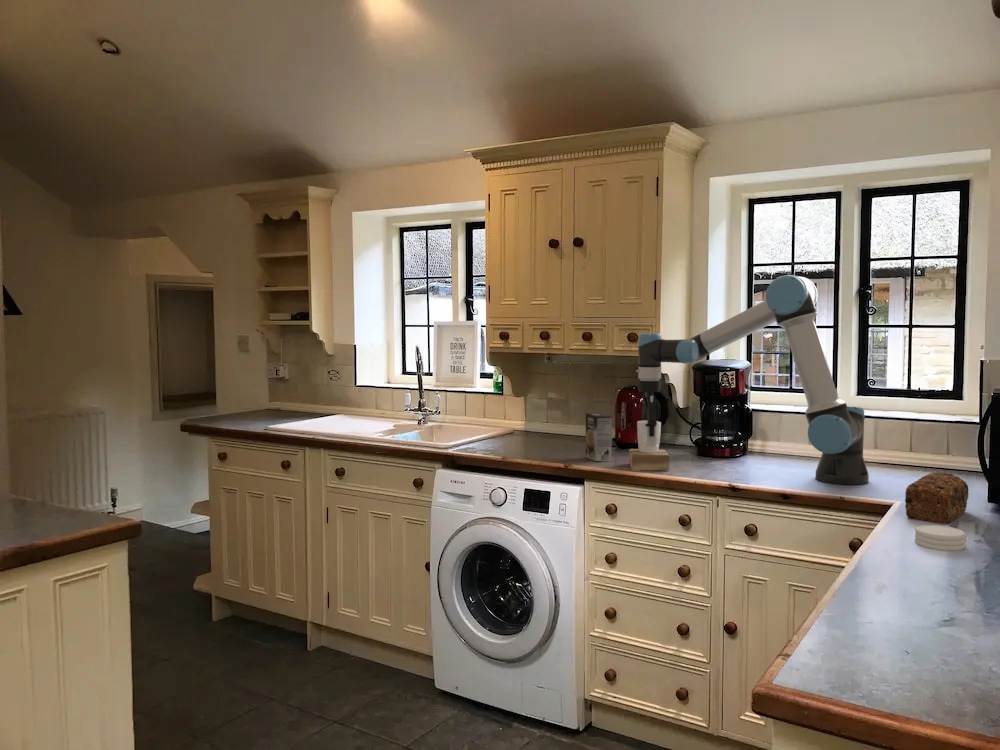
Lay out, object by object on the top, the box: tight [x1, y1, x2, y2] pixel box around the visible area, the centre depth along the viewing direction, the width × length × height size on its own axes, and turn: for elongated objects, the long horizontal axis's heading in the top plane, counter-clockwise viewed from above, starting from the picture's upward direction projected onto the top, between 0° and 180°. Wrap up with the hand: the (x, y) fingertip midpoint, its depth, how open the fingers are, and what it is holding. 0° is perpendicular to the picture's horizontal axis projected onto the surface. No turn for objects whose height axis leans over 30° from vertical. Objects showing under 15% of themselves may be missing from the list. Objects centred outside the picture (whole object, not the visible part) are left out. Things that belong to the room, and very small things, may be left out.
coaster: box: [914, 524, 967, 552], centre depth 179 cm, size 10×10×4 cm
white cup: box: [636, 420, 662, 453], centre depth 272 cm, size 8×8×10 cm
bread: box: [904, 471, 969, 525], centre depth 206 cm, size 19×11×10 cm, turn 136°
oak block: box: [628, 448, 670, 472], centre depth 272 cm, size 12×12×5 cm
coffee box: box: [585, 412, 613, 462], centre depth 286 cm, size 9×6×16 cm
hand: (648, 443), depth 271 cm, fingers open, 13 cm apart
